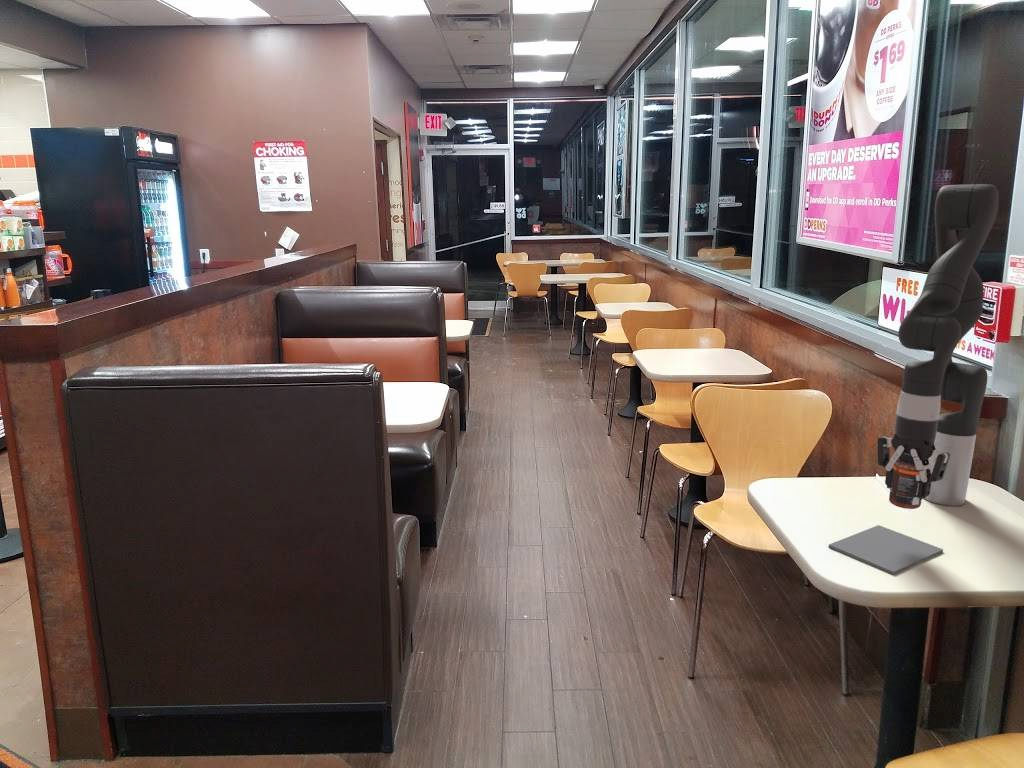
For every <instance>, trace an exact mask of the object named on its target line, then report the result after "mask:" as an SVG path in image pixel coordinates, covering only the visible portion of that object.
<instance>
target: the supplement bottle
mask: <svg viewBox="0 0 1024 768" xmlns="http://www.w3.org/2000/svg"><path fill="white" fill-rule="evenodd" d="M900 457H901V459H899V460H898V461H896V462H895V463H894V467H893V473H892V480H891V488H890V489H889V497H888V499H889V500H888V502H889V503H890V504H891V505H893V506H895V507H897V508H901V509H905V510H906V509H908V510H915V509H918V508H920V507H921V505H922V500H923V499H920V498H918V491H919V484H920V481H922V480H921V477H920V472H919V471H918V470H917V469H916V466H915V463H914V459H913V457H912V455H911V454H910V453H906V452H903V453H902V454H901V456H900ZM922 464H923V463H922ZM923 466H924V465H923Z"/></svg>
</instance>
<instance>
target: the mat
mask: <svg viewBox="0 0 1024 768" xmlns="http://www.w3.org/2000/svg"><path fill="white" fill-rule="evenodd" d="M828 548H830V549H832V550H834V551H836V552H839V553H841V554H844V555H846V556H848V557H851V558H853V559H856V560H858V561H860V562H863V563H865V564H866V565H867V564H868V565H870V566H872V567H875V568H877V569H879V570H882V571H883V572H886V573H888V574H891V575H893V576H894V575H896V574H899V573H901V572H902V571H905V570H907V569H910V568H912V567H913V566H916V565H918V564H920V563H922V562H925V561H926V560H929V559H930V558H931V559H932V558H934V556H938V555H939V554H941V553H944V548H941V547H938V546H935V545H933V544H930V543H927V542H924V541H922V540H919V539H916V538H914V537H911V536H909V535H906V534H903V533H901V532H897V531H895V530H893V529H890V528H887V527H885V526H882V525H879V524H878V525H875V526H873V527H871V528H867V529H864V530H863V531H860V532H857V533H855V534H852V535H850V536H847V537H844V538H842V539H839V540H837V541H834V542H832V543H829V544H828Z"/></svg>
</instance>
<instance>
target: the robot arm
mask: <svg viewBox="0 0 1024 768" xmlns="http://www.w3.org/2000/svg"><path fill="white" fill-rule="evenodd" d="M999 199H1000V196H999V191H998V188H997V187H996V185H994V184H987V183H979V184H978V183H977V184H976V183H972V184H968V183H966V184H948V185H944V186H942V187H941V188H939V190H938V191H937V194H936V198H935V204H934V229H935V230H934V231H935V245H936V247H935V249H936V261H935V262H934V263H933V265H932V266H930V267H931V268H929V270H928V272H927V274H926V278H925V281H924V285H923V287H922V291H921V293H920V296H919V297H918V299H917V300H916V302H915V304H914V305H913V306H912V308H911V309H910V310H909V311H908V312H907V314H906V315H905V317H904V318H903V320H902V321H901V323H900V325H899V327H898V328H899V329H898V334H897V335H898V340H899V343H900V344H901V345H902V347H904V348H906V349H908V350H914V351H915V350H916V351H924V352H933V355H932V358H931V359H929V360H917V361H915V360H914V361H911V362H907V363H906V364H905V367H904V369H903V373H902V374H903V376H902V382H901V389H900V393H899V398H898V400H897V401H898V402H897V405H896V413H895V414H896V415H895V423H894V430H893V432H894V435H893V437H889V436H888V435H885V436H881V437H878V438H877V465H878V466H881V467H883V468H884V469H885V470H886V471H885V472H886V473H885V480H884V483H885V485H886V488H887V489H889V490H890V488H891V480H892V473H893V467H894V463H895V462H896V461H898V460H899V459H901V457H900V456H901V454H902V453H903V452H906V453H910V454H911V455H912V457H913V459H914V463H915V466H916V469H917V470H918V471H919V472H920V477H921V480H922V481H920V484H919V491H918V498H920V499H922V500H927V501H928V502H932V503H934V504H938V505H941V506H942V505H944V506H950V507H952V506H954V507H955V506H956V507H957V506H963V505H964V504H965V503H966V499H967V498H966V497H967V492H968V486H969V480H970V475H971V469H972V463H973V457H974V456H973V455H974V451H975V444H976V440H977V439H976V438H977V431H978V427H979V422H980V417H981V412H982V406H983V403H984V399H985V394H986V389H987V385H988V373H987V370H986V368H985V367H983V366H979V365H975V364H969V363H961V362H955V361H953V353H954V351H955V349H956V348H957V345H958V344H959V343H960V341H961V340H962V339H963V338H964V337H965V336H966V335H967V334H968V332H970V331H971V329H973V327H975V326H976V324H977V323H978V321H979V320H980V318H981V317H982V314H983V308H984V289H985V288H984V283H983V281H982V278H981V277H980V274H978V272H977V270H976V269H975V268H974V266H973V265H974V263H975V262H976V259H977V257H978V255H979V254H980V252H981V250H982V248H983V246H984V244H985V243H986V240H987V238H988V236H989V233H990V232H991V230H992V228H993V225H994V223H995V220H996V218H997V215H998V210H999V207H1000V206H999V205H1000V204H999V202H1000V201H999ZM956 230H966V231H967V230H968V231H967V232H966V233H965V234H964V236H963V237H962V238H960V240H959V239H958V237H957V231H956ZM941 401H944V402H950V403H955V404H962V407H961V409H960V410H958V411H955V412H947V413H940V412H941V404H942V403H941ZM891 447H892V448H893V450H894V453H893V454H892V456H891V457H890V455H891V451H890V449H891ZM922 463H923V464H922ZM923 465H924V466H923Z"/></svg>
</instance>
